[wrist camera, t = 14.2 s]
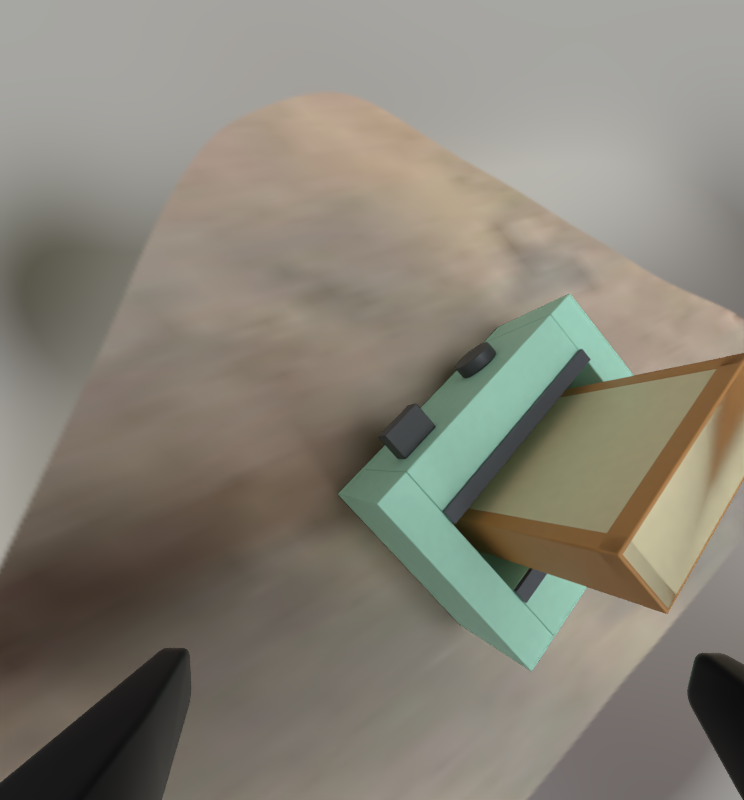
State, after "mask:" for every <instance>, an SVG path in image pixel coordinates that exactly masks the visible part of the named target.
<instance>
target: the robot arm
mask: <svg viewBox="0 0 744 800" xmlns="http://www.w3.org/2000/svg"><path fill="white" fill-rule="evenodd" d="M687 692H688V693H687V694H688V699H689V702H690V705H691V707H692V709H693V711H694V713H695V715H696V716H697V718H698V720H699V722H700V723H701V725H702V727H703V729H704V731H705V732H706V734H707V736H708V738H709V740H710V742H711V743H712V745H713V747H714V749H715V751H716V752H717V754H718V756H719V758H720V760H721V761H722V763H723V765H724V767H725V769H726V770H727V772H728V774H729V776H730V778H731V779H732V781H733V783H734V785H735V787H736V789H737V790H738V792H739V794H740V795H741V797H742V799H743V800H744V664H742V663H740V662H738V661H736V660H735V659H733V658H731V657H729V656H727V655H725V654H721V653H700V654H698V655H697V656H696V657H695V660H694V664H693V668H692V672H691V676H690V681H689V685H688V690H687ZM190 696H191V672H190V655H189V652H188V650H187V649H185V648H165V649H162V650H161V651H159V652H158V653H157V654H155V655H154V656H153V657H152V658H151V659H149V660H148V661H147V662H146V663H145V664H143V665H142V666H141V667H140V668H139V669H137V670H136V671H135V672H134V673H133V674H131V675H130V676H129V677H128V678H126V679H125V680H124V681H123V682H122V683H120V684H119V685H118V686H117V687H116V688H114V689H113V690H112V691H111V692H110V693H108V694H107V695H106V696H105V697H104V698H102V699H101V700H100V701H99V702H97V703H96V704H95V705H94V706H93V707H91V708H90V709H89V710H88V711H87V712H85V713H84V714H83V715H82V716H81V717H79V718H78V719H77V720H76V721H74V722H73V723H72V724H71V725H70V726H68V727H67V728H66V729H65V730H64V731H62V732H61V733H60V734H59V735H58V736H56V737H55V738H54V739H53V740H52V741H50V742H49V743H48V744H47V745H45V746H44V747H43V748H42V749H41V750H39V751H38V752H37V753H36V754H35V755H33V756H32V757H31V758H30V759H29V760H27V761H26V762H25V763H24V764H23V765H21V766H20V767H19V768H18V769H16V770H15V771H14V772H13V773H12V774H10V775H9V776H8V777H7V778H6V779H4V780H3V781H2V782H1V783H0V800H162V797H163V794H164V790H165V787H166V783H167V780H168V776H169V773H170V769H171V766H172V762H173V759H174V755H175V752H176V748H177V745H178V741H179V738H180V734H181V731H182V727H183V724H184V720H185V717H186V713H187V710H188V706H189V702H190Z"/></svg>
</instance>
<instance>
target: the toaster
mask: <svg viewBox="0 0 744 800" xmlns="http://www.w3.org/2000/svg"><path fill="white" fill-rule="evenodd" d="M456 370H457V371H456V372H455V373H454V374H453V375H452V376H451V377H450V378H449V379H448V380H447V381H446V382H445V383H444V384H443V385H442V386H441V387H440V388H439V389H438V390H437V391H436V393H435V394H434V395H433V396H432V397H431V398H430V399H429V400H428V401H427V402H426V403H425V404H424V405H423V406H422V407H421V408H420V407H419V406H418V405H417V404H413V405H409V406H407V407H406V408H405V409H404V410H403V411H402V412H401V413H400V414H399V415H398V416H397V417H396V418H395V419H394V420H393V421H392V422H391V423H390V424H389V425H388V426H387V427H386V428H385V429H384V430H383V431H382V433H381V434H380V435H379V436H378V438H379V439H380V440H381V441H382V442H383V443H384V444H385V445H384V446H383V448H382V449H381V450H380V451H379V452H378V453H377V454H376V455H375V456H374V457H373V458H372V459H371V460H370V461H369V462H368V463H367V464H366V465H365V466H364V467H363V468H362V469H361V470H360V471H359V472H358V473H357V474H356V476H355V477H354V478H353V479H352V480H351V481H350V482H349V483H348V484H347V485H346V486H345V487H344V488H343V489H342V490H341V491H340V492H339V493H338V495H339V496H340V497H341V498H342V499H343V500H344V501H345V503H346V504H347V505H348V506H349V507H350V508H351V509H352V510H353V511H354V512H355V513H356V514H357V515H358V516H359V517H360V519H361V520H362V521H363V522H364V523H365V524H366V525H367V526H368V527H369V528H370V529H371V530H372V531H373V532H374V533H375V535H376V536H377V537H378V538H379V539H380V540H381V541H382V542H383V543H384V544H385V545H386V546H387V547H388V548H389V550H390V551H391V552H392V553H393V554H394V555H395V556H396V557H397V558H398V559H399V560H400V561H401V562H402V563H403V564H404V566H405V567H406V568H407V569H408V570H409V571H410V572H411V573H412V574H413V575H414V576H415V577H416V578H417V579H418V580H419V582H420V583H421V584H422V585H423V586H424V587H425V588H426V589H427V590H428V591H429V592H430V593H431V594H432V595H433V597H434V598H435V599H436V600H437V601H438V602H439V603H440V604H441V605H442V606H443V607H444V608H445V609H446V610H447V611H448V613H449V614H450V615H451V616H452V617H453V618H454V619H455V620H456V621H457V622H458V623H459V624H460V625H461V626H463V627H464V628H466V629H467V630H469V631H470V632H472V633H473V634H475V635H476V636H478V637H479V638H481V639H483V640H484V641H486V642H487V643H489V644H490V645H492V646H493V647H495V648H496V649H498V650H499V651H501V652H502V653H504V654H505V655H507V656H508V657H510V658H512V659H513V660H515V661H516V662H518V663H519V664H521V665H522V666H524V667H525V668H527V669H528V670H530V671H532V670H533V669H534V667H535V666H536V664H537V663H538V661H539V660H540V658H541V657H542V655H543V654H544V652H545V651H546V649H547V648H548V646H549V644H550V643H551V641H552V640H553V638H554V636H555V635H556V634H557V632H558V631H559V629H560V628H561V626H562V625H563V623H564V621H565V620H566V618H567V617H568V615H569V614H570V612H571V611H572V609H573V608H574V606H575V605H576V603H577V602H578V600H579V599H580V597H581V596H582V594H583V593H584V591H585V589H586V588H587V587H586V586H583V585H580V584H577V583H574V582H571V581H568V580H565V579H562V578H559V577H556V576H553V575H550V574H547V573H544V572H541V571H538V570H535V569H532V568H529V567H526V566H523V565H520V564H517V563H514V562H511V561H508V560H505V559H502V558H499V557H496V556H493V555H490V554H487V553H484V552H481V551H478V550H476V549H475V548H474V547H473V546H472V545H471V544H470V543H469V542H468V541H467V539H466V538H465V537H464V536H463V535H462V534H461V533H460V532H459V531H458V529H457V528H456V527H455V526H454V525H453V524H452V523H454V524H456V523H457V521H458V520H459V519H460V518H461V517H462V515H463V514H464V513H465V512H466V511H467V509H468V508H469V507H470V506H471V504H472V503H473V502H474V501H475V500H476V498H477V497H478V496H479V495H480V493H481V492H482V491H483V490H484V489H485V487H486V486H487V485H488V484H489V483H490V481H491V480H492V479H493V478H494V476H495V475H496V474H497V473H498V472H499V470H500V469H501V468H502V467H503V466H504V464H505V463H506V462H507V461H508V459H509V458H510V457H511V456H512V455H513V453H514V452H515V451H516V450H517V449H518V447H519V446H520V445H521V444H522V442H523V441H524V440H525V439H526V438H527V436H528V435H529V434H530V433H531V431H532V430H533V429H534V428H535V427H536V425H537V424H538V423H539V422H540V421H541V419H542V418H543V417H544V416H545V414H546V413H547V412H548V411H549V410H550V408H551V407H552V406H553V405H554V404H555V402H556V401H557V400H558V399H559V397H560V396H561V395H562V394H563V393H564V391H565V390H566V389H570V388H575V387H580V386H585V385H590V384H595V383H600V382H605V381H610V380H615V379H620V378H625V377H630V376H634V375H633V374H632V373H631V371H630V370H629V369H628V367H627V366H626V365H625V364H624V362H623V361H622V360H621V358H620V357H619V356H618V355H617V353H616V352H615V351H614V349H613V348H612V347H611V346H610V344H609V343H608V342H607V340H606V339H605V338H604V337H603V335H602V334H601V333H600V331H599V330H598V329H597V328H596V326H595V325H594V324H593V322H592V321H591V320H590V319H589V317H588V316H587V315H586V313H585V312H584V311H583V310H582V308H581V307H580V306H579V304H578V303H577V302H576V301H575V299H574V298H573V297H572V295H571V294H568V295H565V296H563V297H561V298H559V299H557V300H555V301H553V302H550V303H548V304H546V305H544V306H542V307H540V308H538V309H535V310H533V311H531V312H529V313H527V314H525V315H523V316H520V317H518V318H516V319H514V320H512V321H510V322H508V323H506V324H503V325H501V326H499V327H498V328H497V329H496V330H495V331H494V332H493V333H492V334H491V335H490V336H489V338H488V339H487V340H486V341H485V342H484V343H482V344H480V345H478V346H477V347H475V348H474V349H472V350H471V351H470V352H469V353H467V354H466V355H465V356H464V357H463V358H462V359H461V360H460V361H459V362H458V364H457V365H456ZM451 522H452V523H451Z"/></svg>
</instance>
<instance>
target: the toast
mask: <svg viewBox="0 0 744 800" xmlns="http://www.w3.org/2000/svg"><path fill="white" fill-rule="evenodd" d="M743 480H744V353H741V354H737V355H732V356H727V357H723V358H718V359H713V360H708V361H704V362H699V363H694V364H689V365H684V366H679V367H674V368H669V369H664V370H659V371H654V372H649V373H644V374H639V375H634V376H630V377H625V378H620V379H615V380H610V381H605V382H600V383H595V384H590V385H585V386H580V387H575V388H570V389H566V390H565V391H564V393H563V394H562V395H561V396H560V397H559V399H558V400H557V401H556V402H555V404H554V405H553V406H552V407H551V408H550V410H549V411H548V412H547V413H546V414H545V416H544V417H543V418H542V419H541V421H540V422H539V423H538V424H537V425H536V427H535V428H534V429H533V430H532V431H531V433H530V434H529V435H528V436H527V438H526V439H525V440H524V441H523V442H522V444H521V445H520V446H519V447H518V449H517V450H516V451H515V452H514V453H513V455H512V456H511V457H510V458H509V459H508V461H507V462H506V463H505V464H504V466H503V467H502V468H501V469H500V470H499V472H498V473H497V474H496V475H495V476H494V478H493V479H492V480H491V481H490V483H489V484H488V485H487V486H486V487H485V489H484V490H483V491H482V492H481V493H480V495H479V496H478V497H477V498H476V500H475V501H474V502H473V503H472V504H471V506H470V507H469V508H468V509H467V511H466V512H465V513H464V514H463V515H462V517H461V518H460V519H459V520H458V521H457V523H456V524H454V523H452V522H451V523H452V524H453V525H454V526H455V527H456V528H457V529H458V531H459V532H460V533H461V534H462V535H463V536H464V537H465V538H466V539H467V541H468V542H469V543H470V544H471V545H472V546H473V547H474V548H475V549H476V550H478V551H481V552H484V553H487V554H490V555H493V556H496V557H499V558H502V559H505V560H508V561H511V562H514V563H517V564H520V565H523V566H526V567H529V568H532V569H535V570H538V571H541V572H544V573H547V574H550V575H553V576H556V577H559V578H562V579H565V580H568V581H571V582H574V583H577V584H580V585H583V586H586V587H589V588H592V589H595V590H598V591H601V592H604V593H607V594H610V595H613V596H616V597H619V598H622V599H625V600H628V601H631V602H634V603H637V604H640V605H643V606H645V607H648V608H651V609H654V610H657V611H660V612H663V613H666V614H667V613H668V612H669V610H670V609H671V607H672V605H673V603H674V602H675V600H676V598H677V596H678V595H679V593H680V591H681V589H682V588H683V586H684V584H685V582H686V580H687V579H688V577H689V575H690V573H691V572H692V570H693V568H694V566H695V565H696V563H697V561H698V559H699V558H700V556H701V554H702V552H703V551H704V549H705V547H706V545H707V543H708V542H709V540H710V538H711V536H712V535H713V533H714V531H715V529H716V528H717V526H718V524H719V522H720V521H721V519H722V517H723V515H724V514H725V512H726V510H727V508H728V506H729V505H730V503H731V501H732V499H733V498H734V496H735V494H736V492H737V491H738V489H739V487H740V485H741V484H742V482H743Z"/></svg>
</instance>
